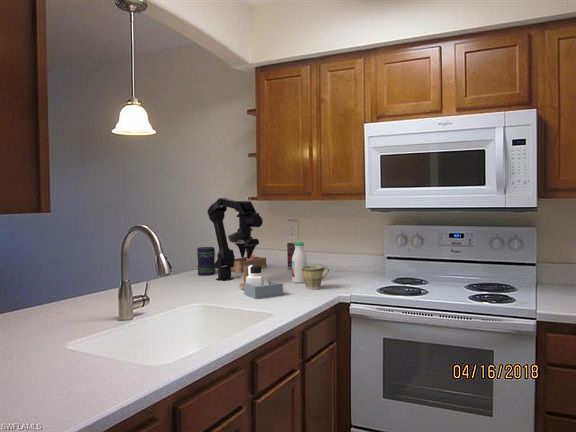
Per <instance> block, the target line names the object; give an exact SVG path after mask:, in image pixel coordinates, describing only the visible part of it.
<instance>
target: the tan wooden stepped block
mask: <svg viewBox="0 0 576 432" xmlns="http://www.w3.org/2000/svg"><path fill="white" fill-rule="evenodd" d="M243 268H244V273H243V281H242V282H239V287H240V288H241V289H242V290H244V283H246V277H247V276H248V275H249V274H248V267H243Z"/></svg>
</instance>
